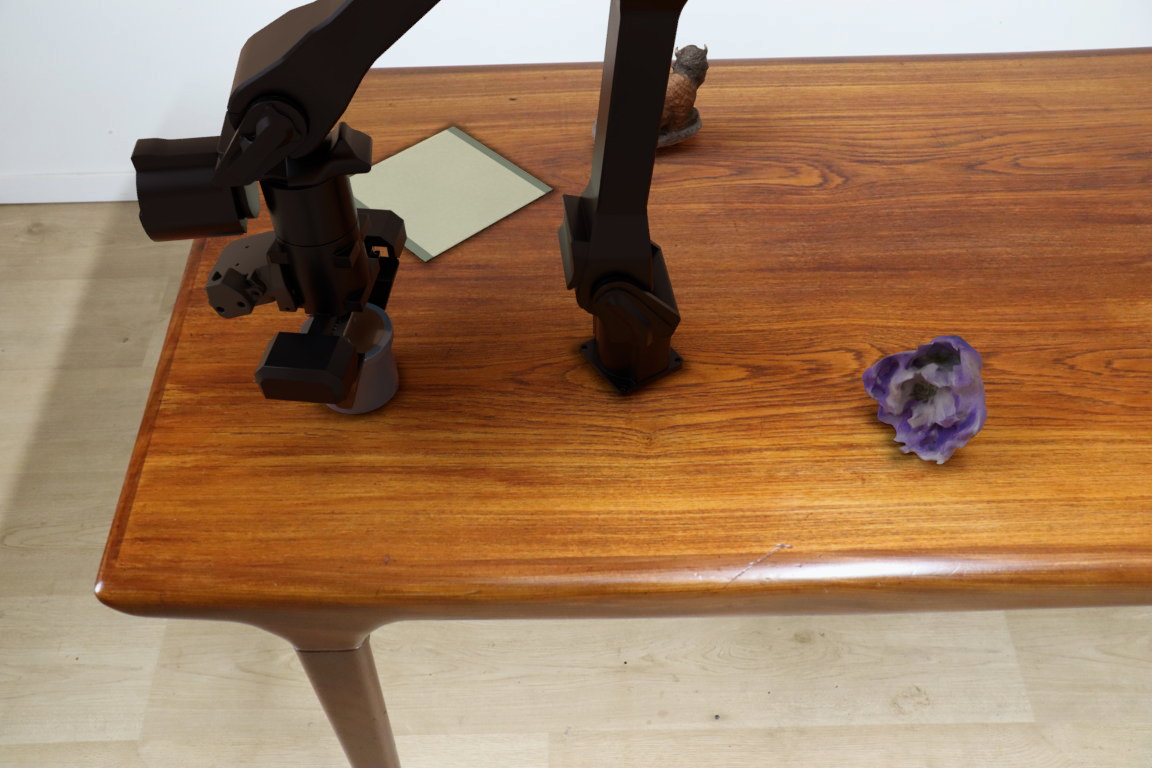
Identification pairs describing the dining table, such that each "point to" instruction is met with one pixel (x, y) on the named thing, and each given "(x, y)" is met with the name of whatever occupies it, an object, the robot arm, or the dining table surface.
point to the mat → (445, 190)
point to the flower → (931, 396)
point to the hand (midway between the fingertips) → (357, 375)
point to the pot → (371, 358)
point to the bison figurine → (681, 96)
